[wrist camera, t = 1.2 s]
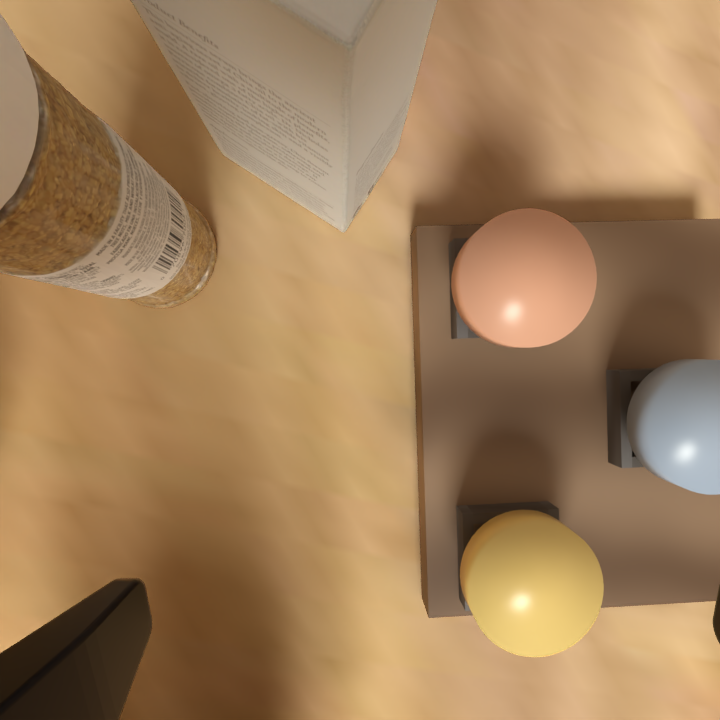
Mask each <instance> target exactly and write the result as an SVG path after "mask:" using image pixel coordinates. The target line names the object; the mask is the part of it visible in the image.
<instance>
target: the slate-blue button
mask: <svg viewBox="0 0 720 720" xmlns="http://www.w3.org/2000/svg"><path fill="white" fill-rule="evenodd" d="M626 425H627V434H628V439H629V442H630V445H631V448H632V450H633V452H634V454H635V456H636V457H637V459H638V460H639V462H640V463H641V464H642V465H643V466H644V467H645V468H646V469H647V470H648V471H649V472H651V473H652V474H654V475H655V476H657V477H658V478H661V479H663V480H665V481H668V482H670V483H673V484H675V485H677V486H680V487H682V488H685V489H687V490H690V491H693V492H696V493H700V494H707V495H717V494H720V360H706V359H681V360H676V361H672V362H669V363H666V364H664V365H662V366H660V367H658V368H656V369H655V370H653V371H652V372H651V373H649V374H648V375H647V376H646V377H645V378H644V379H643V380H642V382H641V383H640V384H639V385H638V387H637V389H636V390H635V392H634V394H633V396H632V398H631V400H630V404H629V407H628V412H627V423H626Z"/></svg>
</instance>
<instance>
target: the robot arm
mask: <svg viewBox="0 0 720 720" xmlns="http://www.w3.org/2000/svg"><path fill="white" fill-rule="evenodd" d="M713 628H714V632H715V635H716V637H717V640H718V642H719V643H720V584H719V589H718V594H717V600H716V605H715V611H714V616H713ZM151 629H152V617H151V612H150V607H149V602H148V597H147V592H146V588H145V584H144V582H143V581H142V580H140V579H137V578H120V579H116V580H113V581H112V582H110V583H108V584H107V585H105V586H104V587H102V588H101V589H99V590H98V591H96V592H95V593H93V594H91V595H90V596H88V597H87V598H85V599H84V600H82V601H81V602H79V603H78V604H76V605H74V606H73V607H71V608H70V609H68V610H67V611H65V612H64V613H62V614H61V615H59V616H57V617H56V618H54V619H53V620H51V621H50V622H48V623H47V624H45V625H44V626H42V627H40V628H39V629H37V630H36V631H34V632H33V633H31V634H30V635H28V636H27V637H25V638H23V639H22V640H20V641H19V642H17V643H16V644H14V645H13V646H11V647H10V648H8V649H6V650H5V651H3V652H2V653H0V720H119V718H120V715H121V713H122V710H123V707H124V705H125V702H126V699H127V696H128V694H129V691H130V688H131V686H132V683H133V680H134V678H135V675H136V672H137V669H138V667H139V664H140V661H141V659H142V656H143V653H144V650H145V648H146V645H147V642H148V640H149V637H150V634H151Z"/></svg>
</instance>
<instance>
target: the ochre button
mask: <svg viewBox="0 0 720 720" xmlns="http://www.w3.org/2000/svg"><path fill="white" fill-rule="evenodd" d="M460 582H461V588H462V592H463V595H464V597H465V600H466V602H467V604H468V606H469V608H470V610H471V612H472V614H473V616H474V618H475V620H476V622H477V624H478V625H479V627H480V629H481V630H482V631H483V633H484V634H485V635H486V636H487V637H488V638H489V639H490V640H491V641H492V642H493V643H494V644H496V645H497V646H498V647H500V648H502V649H503V650H505V651H508V652H510V653H512V654H516V655H519V656H525V657H544V656H550V655H553V654H557V653H559V652H562V651H564V650H566V649H568V648H569V647H571V646H573V645H574V644H575V643H577V642H578V641H579V640H580V639H581V638H582V637H583V636H584V635H585V634H586V633H587V632H588V631H589V629H590V628H591V627H592V625H593V624H594V622H595V620H596V618H597V616H598V614H599V611H600V608H601V605H602V600H603V591H604V584H603V575H602V571H601V567H600V565H599V562H598V560H597V558H596V556H595V554H594V552H593V551H592V549H591V548H590V547H589V545H588V544H587V543H586V542H585V541H584V540H583V539H582V538H581V537H579V536H578V535H577V534H576V533H574V532H573V531H572V530H571V529H569V528H568V527H567V526H565V525H564V524H563V523H562V522H560V521H559V520H557V519H556V518H554V517H552V516H550V515H548V514H546V513H542V512H539V511H534V510H514V511H509V512H505V513H503V514H500V515H498V516H496V517H494V518H492V519H490V520H489V521H487V522H486V523H485V524H483V525H482V526H481V527H480V528H479V529H478V530H477V531H476V532H475V534H474V535H473V536H472V537H471V539H470V541H469V542H468V544H467V546H466V548H465V550H464V553H463V556H462V560H461V566H460Z"/></svg>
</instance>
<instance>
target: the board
mask: <svg viewBox="0 0 720 720" xmlns="http://www.w3.org/2000/svg"><path fill="white" fill-rule="evenodd" d="M570 223H571V224H572V225H574V226H575V227H576V228H577V229H578V230H579V232H580V233H581V234H582V235H583V237H584V238H585V240H586V241H587V243H588V245H589V247H590V249H591V251H592V254H593V257H594V260H595V265H596V272H597V284H596V291H595V296H594V299H593V302H592V305H591V307H590V309H589V311H588V313H587V314H586V316H585V318H584V319H583V320H582V322H581V323H580V324H579V325H578V326H577V327H576V328H575V329H574V330H573V331H572V332H571V333H569V334H568V335H567V336H565V337H564V338H562V339H560V340H558V341H556V342H554V343H551V344H549V345H545V346H540V347H532V348H511V347H503V346H498V345H495V344H492V343H490V342H488V341H485V340H484V339H482V338H481V337H479V336H477V335H476V334H475V333H474V332H473V331H471V330H470V328H469V327H468V326H467V325H466V324H465V323H464V321H463V320H462V318H461V317H460V315H459V313H458V311H457V309H456V306H455V304H454V300H453V296H452V288H451V277H452V271H453V266H454V263H455V260H456V258H457V255H458V253H459V251H460V250H461V248H462V246H463V245H464V244H465V242H466V241H467V240H468V239H469V238H470V237H471V236H472V235H473V234H474V233H475V232H476V231H478V230H479V229H480V228H481V227H482V226H483V225H485V224H479V225H437V226H416V227H415V229H414V231H413V232H412V234H411V235H410V236H411V267H412V298H413V330H414V361H415V393H416V424H417V455H418V487H419V518H420V549H421V581H422V599H423V602H424V605H425V608H426V611H427V614H428V617H429V618H436V617H453V616H469V615H473V614H472V612H471V610H470V608H469V606H468V604H467V602H466V600H465V597H464V595H463V592H462V588H461V582H460V566H461V560H462V556H463V553H464V550H465V548H466V546H467V544H468V542H469V541H470V539H471V537H472V536H473V535H474V534H475V532H476V531H477V530H478V529H479V528H480V527H481V526H482V525H483V524H485V523H486V522H487V521H489V520H490V519H492V518H494V517H496V516H498V515H500V514H503V513H505V512H509V511H514V510H534V511H539V512H542V513H546V514H548V515H550V516H552V517H554V518H556V519H557V520H559V521H560V522H562V523H563V524H564V525H565V526H567V527H568V528H569V529H571V530H572V531H573V532H574V533H576V534H577V535H578V536H579V537H581V538H582V539H583V540H584V541H585V542H586V543H587V544H588V545H589V547H590V548H591V549H592V551H593V552H594V554H595V556H596V558H597V560H598V562H599V565H600V567H601V571H602V575H603V584H604V591H603V600H602V605H601V608H604V607H621V606H638V605H655V604H671V603H688V602H705V601H716V600H717V594H718V589H719V584H720V494H717V495H707V494H700V493H696V492H693V491H690V490H687V489H685V488H682V487H680V486H677V485H675V484H673V483H670V482H668V481H665V480H663V479H661V478H658V477H657V476H655V475H654V474H652V473H651V472H649V471H648V470H647V469H646V468H645V467H644V466H643V465H642V464H641V463H640V462H639V460H638V459H637V457H636V456H635V454H634V452H633V450H632V448H631V445H630V442H629V439H628V434H627V425H626V423H627V412H628V407H629V404H630V400H631V398H632V396H633V394H634V392H635V390H636V389H637V387H638V385H639V384H640V383H641V382H642V380H643V379H644V378H645V377H646V376H647V375H648V374H649V373H651V372H652V371H653V370H655V369H656V368H658V367H660V366H662V365H664V364H666V363H669V362H672V361H676V360H681V359H706V360H720V219H689V220H647V221H605V222H570Z"/></svg>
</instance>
